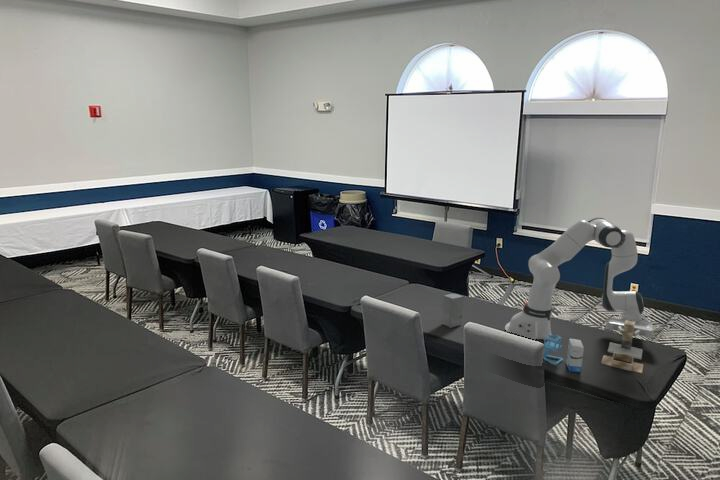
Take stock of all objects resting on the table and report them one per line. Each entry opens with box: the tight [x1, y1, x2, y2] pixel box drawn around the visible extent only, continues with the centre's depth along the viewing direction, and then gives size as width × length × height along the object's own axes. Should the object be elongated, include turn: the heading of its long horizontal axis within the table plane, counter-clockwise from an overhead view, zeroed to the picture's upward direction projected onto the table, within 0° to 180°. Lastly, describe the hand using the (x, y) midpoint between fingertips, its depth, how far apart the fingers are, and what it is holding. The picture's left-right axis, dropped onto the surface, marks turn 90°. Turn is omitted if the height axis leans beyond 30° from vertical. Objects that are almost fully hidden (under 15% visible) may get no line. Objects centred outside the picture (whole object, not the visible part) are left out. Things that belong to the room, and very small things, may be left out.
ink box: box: [565, 338, 585, 373], centre depth 227 cm, size 8×5×12 cm, turn 168°
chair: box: [542, 334, 564, 367], centre depth 234 cm, size 8×8×12 cm
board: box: [607, 341, 644, 360], centre depth 244 cm, size 14×10×1 cm
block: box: [620, 320, 635, 350], centre depth 242 cm, size 4×5×12 cm
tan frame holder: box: [600, 352, 644, 375], centre depth 232 cm, size 16×9×3 cm, turn 59°
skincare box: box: [441, 293, 464, 329], centre depth 269 cm, size 8×7×16 cm
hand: (628, 333), depth 241 cm, fingers closed on block, 4 cm apart
